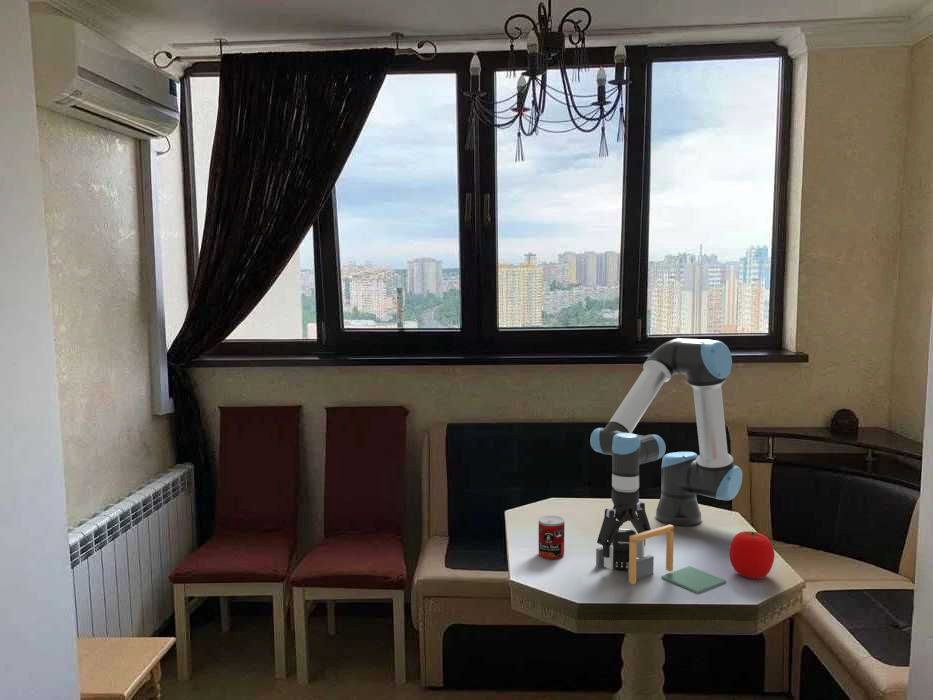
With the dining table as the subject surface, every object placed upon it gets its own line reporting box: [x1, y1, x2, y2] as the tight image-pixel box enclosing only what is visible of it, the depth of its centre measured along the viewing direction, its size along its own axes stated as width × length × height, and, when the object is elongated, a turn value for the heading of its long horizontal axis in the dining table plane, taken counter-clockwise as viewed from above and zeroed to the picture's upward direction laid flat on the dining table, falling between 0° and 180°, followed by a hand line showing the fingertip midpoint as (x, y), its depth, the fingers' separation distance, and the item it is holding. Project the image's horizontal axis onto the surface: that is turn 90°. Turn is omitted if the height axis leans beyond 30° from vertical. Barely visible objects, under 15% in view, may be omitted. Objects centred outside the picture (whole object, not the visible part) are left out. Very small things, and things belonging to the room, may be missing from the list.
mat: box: [661, 565, 727, 594], centre depth 189 cm, size 12×12×1 cm
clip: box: [595, 544, 655, 581], centre depth 196 cm, size 9×13×5 cm
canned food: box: [538, 515, 565, 561], centre depth 207 cm, size 8×8×11 cm
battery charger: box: [612, 528, 638, 572], centre depth 196 cm, size 7×4×11 cm, turn 78°
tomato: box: [728, 530, 775, 580], centre depth 191 cm, size 12×12×13 cm
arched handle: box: [628, 524, 675, 585], centre depth 188 cm, size 16×1×13 cm, turn 124°
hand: (624, 562), depth 196 cm, fingers open, 12 cm apart
